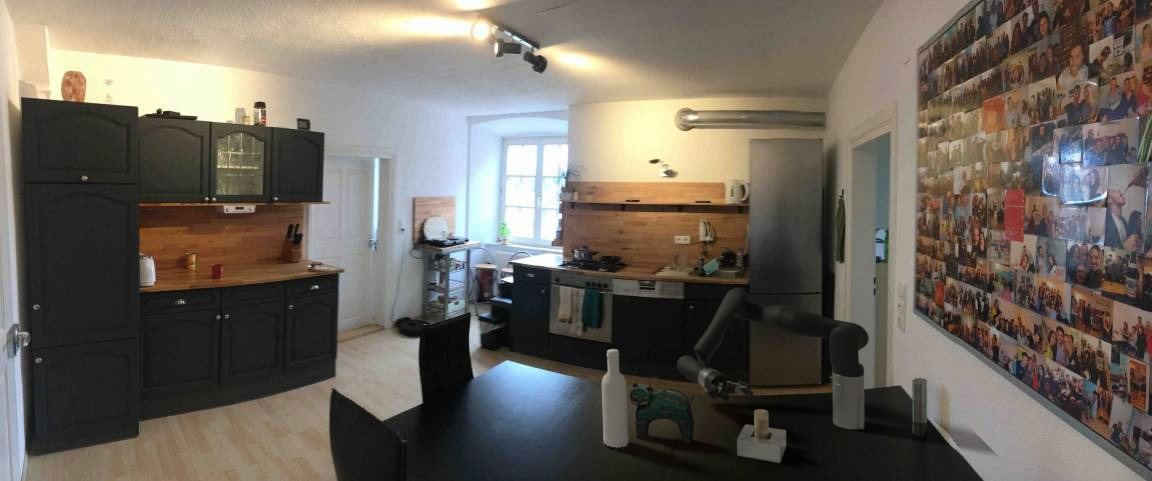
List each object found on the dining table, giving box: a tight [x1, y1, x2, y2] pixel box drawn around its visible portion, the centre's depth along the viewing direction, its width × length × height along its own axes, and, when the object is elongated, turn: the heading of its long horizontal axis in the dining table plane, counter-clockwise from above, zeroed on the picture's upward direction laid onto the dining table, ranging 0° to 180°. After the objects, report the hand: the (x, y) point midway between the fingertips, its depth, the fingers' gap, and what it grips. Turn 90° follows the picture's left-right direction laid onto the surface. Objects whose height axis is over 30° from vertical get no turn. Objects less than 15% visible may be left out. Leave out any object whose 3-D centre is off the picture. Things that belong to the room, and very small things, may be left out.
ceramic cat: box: [629, 376, 695, 444], centre depth 178 cm, size 20×6×20 cm, turn 70°
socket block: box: [736, 424, 787, 464], centre depth 167 cm, size 12×12×5 cm
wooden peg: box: [753, 408, 770, 440], centre depth 167 cm, size 4×4×12 cm
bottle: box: [601, 348, 629, 448], centre depth 175 cm, size 8×8×30 cm
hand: (740, 396), depth 177 cm, fingers open, 8 cm apart
